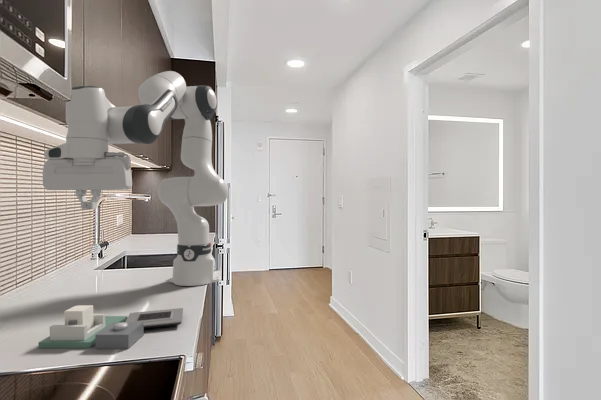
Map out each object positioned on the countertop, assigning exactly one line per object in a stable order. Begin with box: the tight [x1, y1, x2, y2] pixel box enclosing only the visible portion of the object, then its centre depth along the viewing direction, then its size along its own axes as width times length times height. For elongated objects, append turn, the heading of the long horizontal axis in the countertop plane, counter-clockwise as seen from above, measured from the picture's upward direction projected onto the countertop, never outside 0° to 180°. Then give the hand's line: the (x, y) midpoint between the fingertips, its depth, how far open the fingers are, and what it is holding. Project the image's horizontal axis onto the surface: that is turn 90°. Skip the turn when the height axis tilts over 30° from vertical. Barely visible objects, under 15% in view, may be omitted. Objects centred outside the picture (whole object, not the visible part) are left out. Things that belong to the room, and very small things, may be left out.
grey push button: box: [95, 322, 145, 350], centre depth 78 cm, size 7×7×4 cm
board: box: [37, 313, 128, 349], centre depth 83 cm, size 16×11×4 cm
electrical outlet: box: [125, 307, 184, 329], centre depth 89 cm, size 13×10×2 cm
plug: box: [64, 304, 94, 331], centre depth 80 cm, size 5×4×5 cm
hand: (88, 208), depth 86 cm, fingers closed
